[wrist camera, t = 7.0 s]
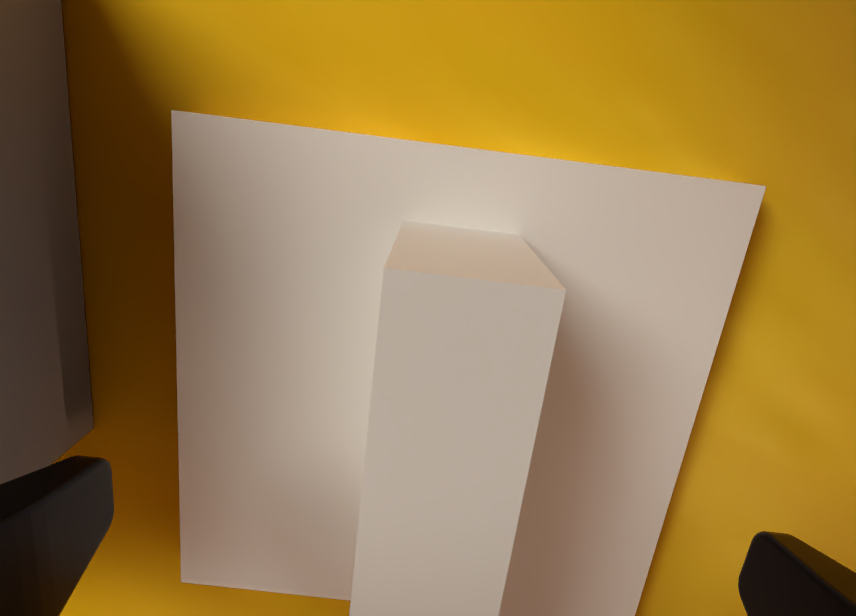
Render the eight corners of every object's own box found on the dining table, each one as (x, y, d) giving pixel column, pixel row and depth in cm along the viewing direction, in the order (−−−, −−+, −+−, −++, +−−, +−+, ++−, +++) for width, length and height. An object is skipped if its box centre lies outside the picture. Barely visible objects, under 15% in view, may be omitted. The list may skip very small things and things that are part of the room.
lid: (613, 587, 13) (706, 825, 8) (203, 541, 13) (78, 761, 8) (728, 180, 10) (964, 215, 6) (202, 113, 10) (5, 93, 5)
